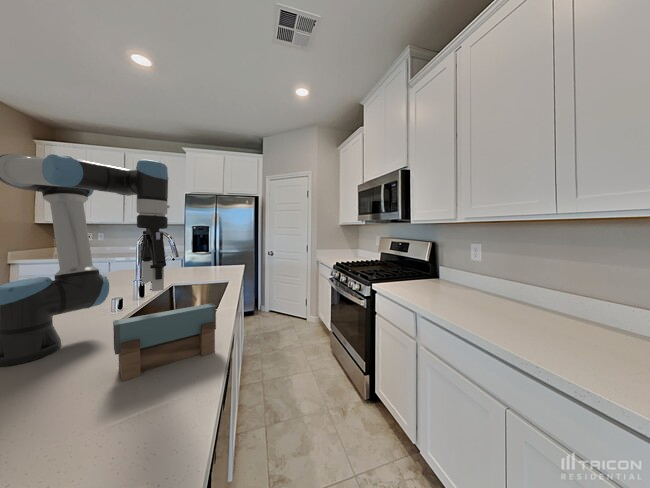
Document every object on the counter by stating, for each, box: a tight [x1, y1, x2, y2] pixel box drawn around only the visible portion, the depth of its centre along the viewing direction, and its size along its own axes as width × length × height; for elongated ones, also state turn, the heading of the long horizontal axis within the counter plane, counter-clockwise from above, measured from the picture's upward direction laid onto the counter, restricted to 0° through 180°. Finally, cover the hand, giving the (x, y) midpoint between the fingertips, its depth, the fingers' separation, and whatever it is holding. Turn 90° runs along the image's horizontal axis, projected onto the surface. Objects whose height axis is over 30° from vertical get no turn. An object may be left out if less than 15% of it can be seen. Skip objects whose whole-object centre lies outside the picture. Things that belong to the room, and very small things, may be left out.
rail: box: [112, 302, 217, 355], centre depth 77 cm, size 4×26×8 cm, turn 134°
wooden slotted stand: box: [118, 322, 216, 382], centre depth 77 cm, size 7×24×10 cm, turn 134°
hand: (152, 285), depth 76 cm, fingers open, 13 cm apart
